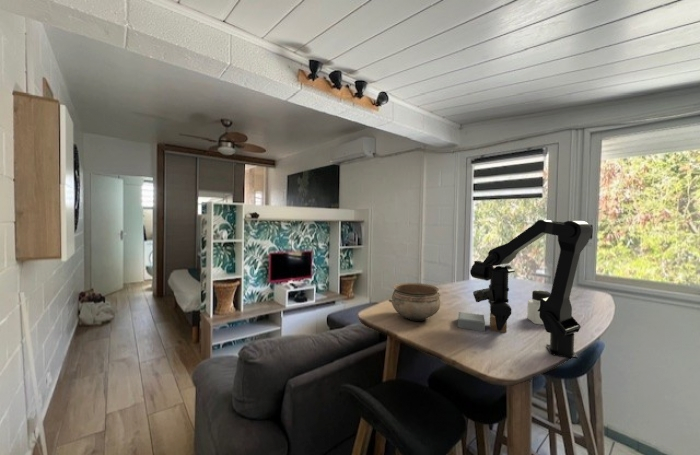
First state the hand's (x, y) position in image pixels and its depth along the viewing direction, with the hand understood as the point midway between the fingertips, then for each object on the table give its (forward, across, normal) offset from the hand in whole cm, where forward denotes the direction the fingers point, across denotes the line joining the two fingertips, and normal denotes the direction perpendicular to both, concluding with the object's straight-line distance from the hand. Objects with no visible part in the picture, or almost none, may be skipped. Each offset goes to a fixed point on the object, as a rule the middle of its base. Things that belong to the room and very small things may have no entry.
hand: (498, 326), depth 104 cm
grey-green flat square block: (+1, 0, -9) cm, 9 cm away
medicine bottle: (+1, -15, +16) cm, 22 cm away
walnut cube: (+1, 0, 0) cm, 1 cm away
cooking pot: (+1, +1, -30) cm, 30 cm away
